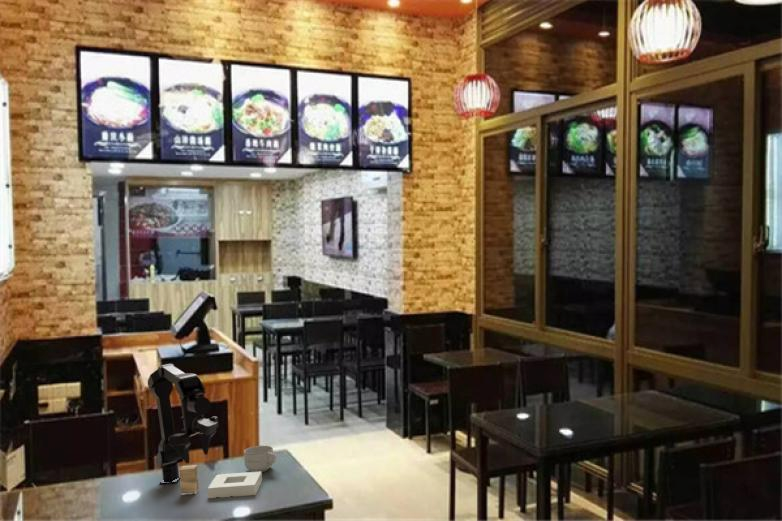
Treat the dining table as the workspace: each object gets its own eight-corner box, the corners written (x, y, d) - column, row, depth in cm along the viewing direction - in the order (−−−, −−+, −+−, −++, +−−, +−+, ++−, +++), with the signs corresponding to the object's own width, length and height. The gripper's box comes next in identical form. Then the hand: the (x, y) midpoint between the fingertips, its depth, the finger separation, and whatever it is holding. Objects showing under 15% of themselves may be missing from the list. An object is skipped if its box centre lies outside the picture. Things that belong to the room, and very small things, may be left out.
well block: (217, 484, 224) (216, 474, 224) (262, 480, 224) (261, 471, 224) (208, 498, 212) (207, 488, 212) (255, 494, 212) (254, 484, 212)
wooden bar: (184, 491, 220) (182, 466, 219) (198, 490, 220) (196, 465, 219) (181, 495, 216) (179, 469, 216) (195, 494, 216) (193, 468, 216)
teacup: (239, 470, 236) (238, 450, 236) (264, 462, 243) (263, 442, 243) (259, 479, 226) (257, 458, 225) (284, 470, 233) (283, 449, 233)
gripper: (191, 418, 200) (197, 467, 199) (228, 405, 217) (233, 450, 216) (164, 419, 204) (170, 467, 204) (202, 406, 221) (208, 450, 221)
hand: (197, 458), depth 211 cm, fingers open, 9 cm apart
